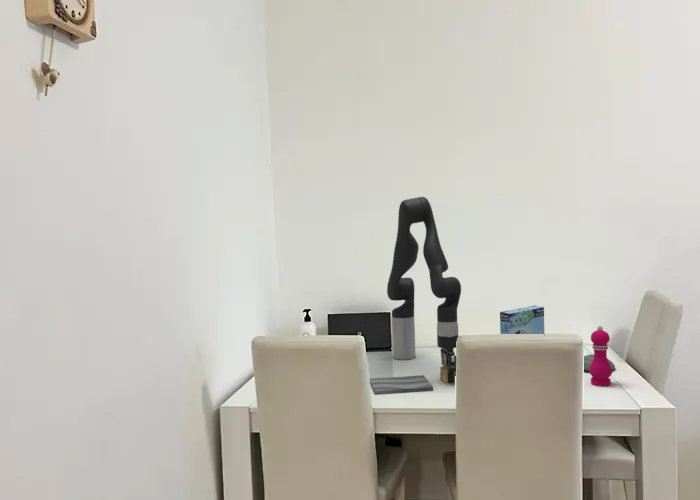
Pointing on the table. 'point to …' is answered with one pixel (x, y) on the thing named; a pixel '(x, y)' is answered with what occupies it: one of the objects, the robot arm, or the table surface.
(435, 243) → the robot arm
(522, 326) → the gum box
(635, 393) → the table surface
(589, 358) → the grey round bowl
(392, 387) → the slate board
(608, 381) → the pepper mill
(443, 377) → the oak cube
